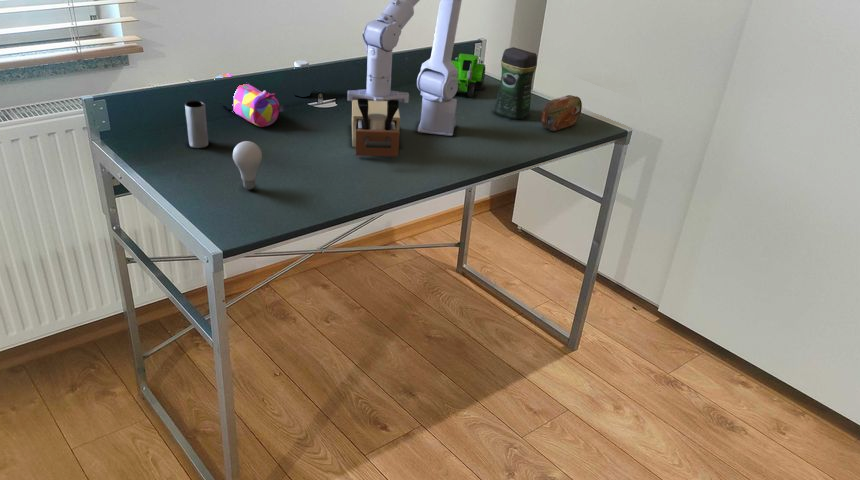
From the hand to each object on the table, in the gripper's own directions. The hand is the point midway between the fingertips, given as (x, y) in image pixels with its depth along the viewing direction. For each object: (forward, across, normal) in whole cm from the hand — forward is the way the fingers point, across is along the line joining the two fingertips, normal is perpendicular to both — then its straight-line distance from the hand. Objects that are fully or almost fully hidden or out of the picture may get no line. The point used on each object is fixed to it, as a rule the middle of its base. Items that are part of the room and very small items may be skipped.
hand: (376, 129), depth 179 cm
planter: (+6, -43, +1) cm, 44 cm away
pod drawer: (+5, 0, -1) cm, 5 cm away
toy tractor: (+6, +29, +49) cm, 58 cm away
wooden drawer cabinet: (+6, 0, +10) cm, 11 cm away
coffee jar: (+6, +40, +30) cm, 51 cm away
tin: (+6, +52, +21) cm, 57 cm away
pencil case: (+6, -34, +22) cm, 41 cm away
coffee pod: (+1, 0, 0) cm, 1 cm away
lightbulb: (+6, -29, -22) cm, 37 cm away
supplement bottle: (+6, -20, +39) cm, 44 cm away
